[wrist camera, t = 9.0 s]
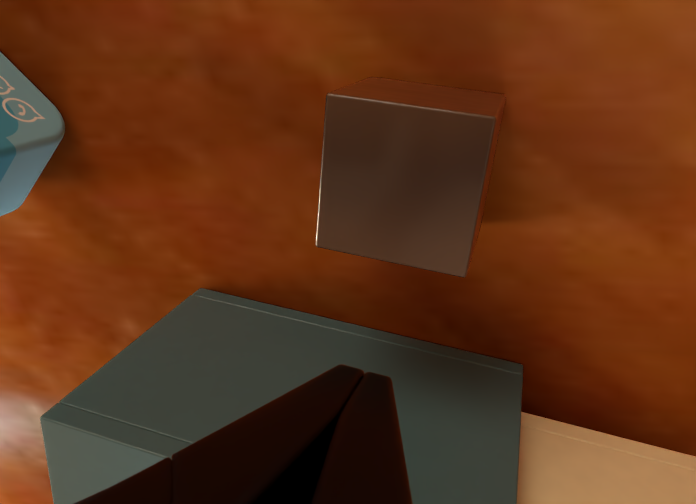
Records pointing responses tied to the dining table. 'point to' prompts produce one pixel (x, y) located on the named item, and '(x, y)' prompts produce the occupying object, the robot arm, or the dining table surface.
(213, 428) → the cabinet
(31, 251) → the dining table surface
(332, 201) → the block
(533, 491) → the drawer
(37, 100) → the data package
